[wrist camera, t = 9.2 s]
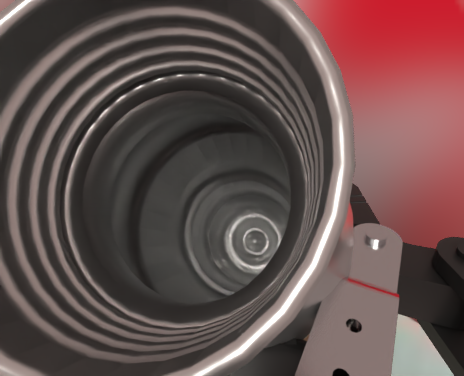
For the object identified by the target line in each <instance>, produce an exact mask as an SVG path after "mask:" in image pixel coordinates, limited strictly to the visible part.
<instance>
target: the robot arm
mask: <svg viewBox="0 0 464 376" xmlns="http://www.w3.org/2000/svg"><path fill="white" fill-rule="evenodd" d="M350 205H351V209H352V213H353V230H354V247H353V254H352V260H351V266H350V271H349V274H348V276H347V277H344V278H343V279H342V280H341V281H340V282H339V283H338V284H337V286H336V287H335V288H334V290H333V291H332V292H331V293H330V294H329V295H328V296H327V297H326V298H324V299H323V300H322V302H321V305H320V307H319V310H318V313H317V316H316V318H315V321H314V324H313V327H312V329H311V332H310V335H309V338H308V340H307V341H305V340H302V339H296V338H293V339H291V340H289V341H287V342H284V343H280V344H277V345H274V346H272V347H267V348H264V349H263V350H261V351H260V352H259V353H258V354H257V355H256V356H255V357H254V358H253V359H252V360H251V361H250V362H249V363H247V364H246V365H244V366H242V367H241V368H239V369H237V370H236V371H234V372H232V373H231V374H229V375H227V376H391V370H392V361H393V352H394V343H395V334H396V325H397V315H398V314H401V315H405V316H408V317H412V318H415V319H417V321H418V322H419V324H420V325H421V327H422V328H423V330H424V331H425V333H426V334H427V336H428V337H429V339H430V340H431V342H432V343H433V345H434V346H435V348H436V349H437V351H438V352H439V354H440V355H441V357H442V358H443V359H444V361H445V362H446V364H447V365H448V367H449V368H450V370H451V371H452V373H453V374H454V376H464V238H459V237H449V238H445V239H443V240H441V241H439V243H438V244H437V247H436V249H433V248H427V247H422V246H416V245H411V244H407V243H404V242H402V239H401V237H400V236H399V235H398V234H397V233H396V232H395V231H393V230H392V229H390V228H388V227H385V226H383V225H380V223H379V221H378V220H377V218H376V217H375V215H374V213H373V212H372V210H371V208H370V206H369V205H368V203H366V200H365V198H364V197H363V196H362V193H361V192H360V190H359V188H358V187H357V186H356V185H354V184H353V183H352V189H351V195H350Z"/></svg>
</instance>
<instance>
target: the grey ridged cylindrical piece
mask: <svg viewBox="0 0 464 376" xmlns="http://www.w3.org/2000/svg"><path fill="white" fill-rule="evenodd" d="M354 171H355V148H354V128H353V114H352V110H351V107H350V103H349V100H348V96H347V92H346V88H345V85H344V81H343V78H342V74H341V70H340V69H339V66H338V65H337V63H336V61H335V59H334V57H333V55H332V53H331V51H330V49H329V48H328V46H327V44H326V42H325V40H324V38H323V37H322V34H321V33H320V31H319V30H318V29H317V28H316V26H315V25H314V24H313V23H312V22H311V21H310V19H309V18H308V17H307V16H306V15H305V13H304V12H303V11H302V10H301V9H300V8H299V6H298V5H297V4H296V3H295V2H294V1H293V0H15V1H14V2H13V3H11V4H10V5H9V6H8V7H6V8H5V9H4V10H3V11H1V12H0V376H227V375H229V374H231V373H232V372H234V371H236V370H237V369H239V368H241V367H242V366H244V365H246V364H247V363H249V362H250V361H251V360H252V359H253V358H254V357H255V356H256V355H257V354H258V353H259V352H260V351H261V350H263V349H264V348H267V347H272V346H274V345H277V344H280V343H284V342H287V341H289V340H291V339H293V338H296V339H302V340H303V339H305V338H306V337H307V336H308V335H309V334H310V332H311V329H312V327H313V324H314V321H315V318H316V316H317V313H318V310H319V307H320V305H321V302H322V300H323V299H324V298H326V297H327V296H328V295H329V294H330V293H331V292H332V291H333V290H334V288H335V287H336V286H337V284H338V283H339V282H340V281H341V280H342V279H343V278H344V277H347V276H348V274H349V271H350V266H351V260H352V254H353V247H354V230H353V213H352V209H351V205H350V195H351V189H352V182H353V177H354Z"/></svg>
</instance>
